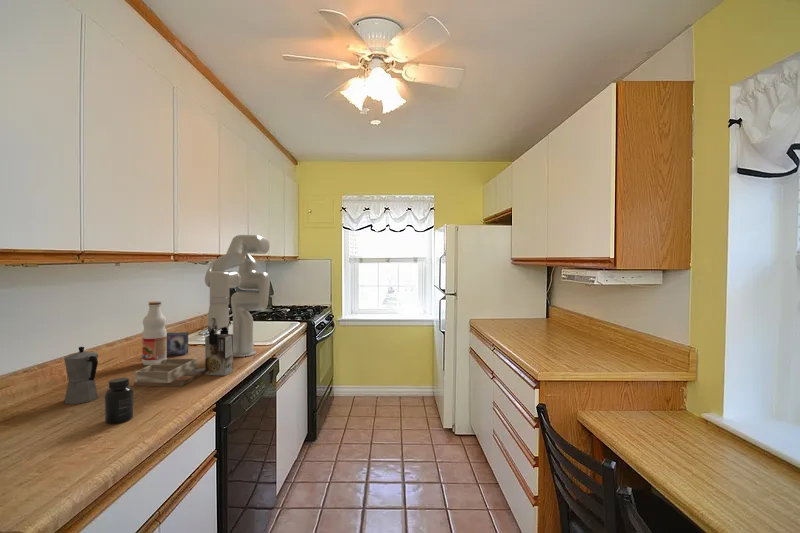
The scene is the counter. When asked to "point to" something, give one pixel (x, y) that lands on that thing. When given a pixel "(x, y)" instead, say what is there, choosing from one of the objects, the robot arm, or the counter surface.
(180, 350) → the small box
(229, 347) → the coffee box
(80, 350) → the coffeepot
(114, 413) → the supplement bottle
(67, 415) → the counter surface
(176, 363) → the beige divided tray
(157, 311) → the fruit juice
